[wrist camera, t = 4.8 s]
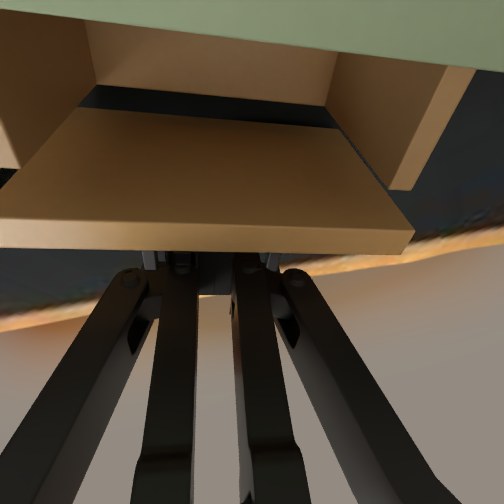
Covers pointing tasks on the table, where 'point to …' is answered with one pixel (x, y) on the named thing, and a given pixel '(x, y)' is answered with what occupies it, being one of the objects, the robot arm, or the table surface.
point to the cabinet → (318, 24)
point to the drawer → (208, 143)
